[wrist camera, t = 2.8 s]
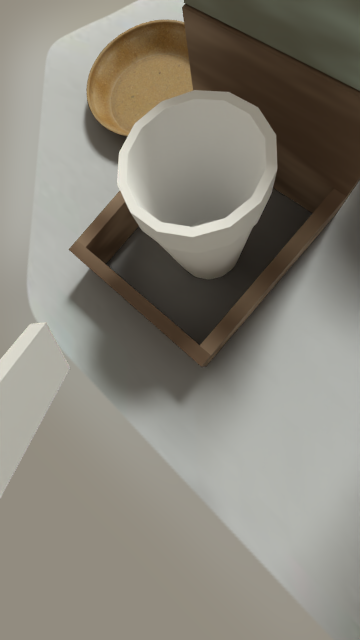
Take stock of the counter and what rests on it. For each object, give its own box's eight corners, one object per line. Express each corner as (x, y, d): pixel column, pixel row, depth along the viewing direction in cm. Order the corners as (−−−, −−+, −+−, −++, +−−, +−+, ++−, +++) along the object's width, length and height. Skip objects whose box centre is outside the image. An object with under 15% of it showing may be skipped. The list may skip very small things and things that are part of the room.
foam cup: (150, 232, 31) (95, 138, 18) (229, 191, 30) (229, 63, 17) (187, 310, 29) (154, 265, 16) (273, 268, 28) (309, 186, 15)
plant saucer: (108, 171, 33) (98, 154, 31) (86, 71, 36) (76, 49, 34) (233, 127, 31) (233, 106, 29) (200, 26, 34) (197, -1, 32)
